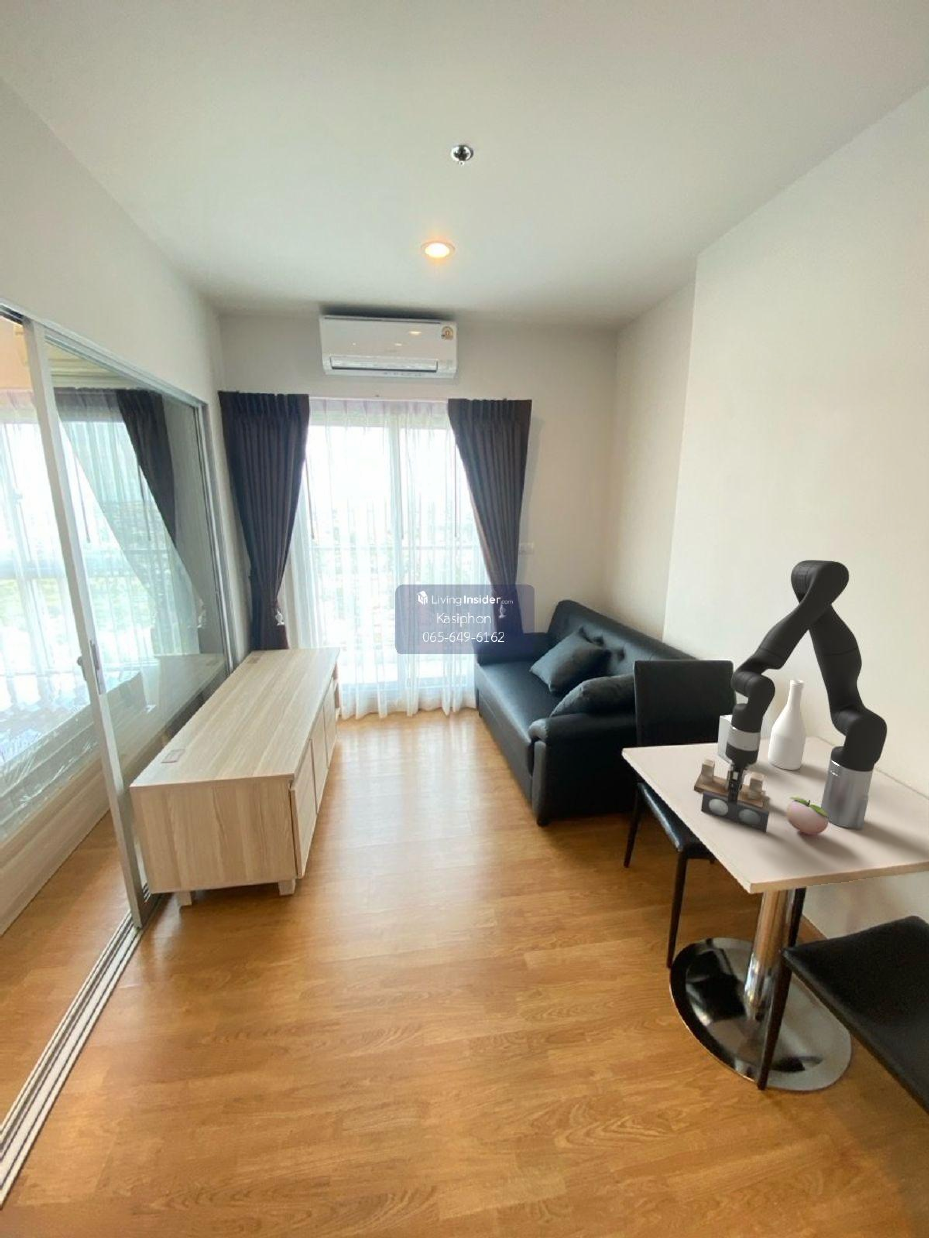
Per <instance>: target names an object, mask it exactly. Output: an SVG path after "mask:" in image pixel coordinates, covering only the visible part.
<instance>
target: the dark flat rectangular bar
mask: <svg viewBox="0 0 929 1238" xmlns="http://www.w3.org/2000/svg"><path fill="white" fill-rule="evenodd" d="M727 800H728V798H726V797H723V796H720V795H717V794H713V793H710V792H707V791H704V792H703V793H702V801H701V807H700V811H701V812H703V813H706V814H709V815H712V816H715V817H718V818H721V819H723V820H727V821H729V822H733V823H735V824H738V825H741V826H743V827H746V828H750V829H753V830H755V831H758V832H762V833H764V834H767V830H768V829H767V828H768V823H769V816H770V811H769V810H768V809H767V810H766V809H763V808H762V809H760V808H757V807H754V806H751V805H748V804H745V803H742V802H738V801H737V804H736V805H734V804H731V803H729V802H728V801H727Z"/></svg>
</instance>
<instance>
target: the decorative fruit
mask: <svg viewBox="0 0 929 1238" xmlns="http://www.w3.org/2000/svg"><path fill="white" fill-rule="evenodd" d="M789 799H791V800H792V801H790V802H789V804H787V807H786V811H785V813H786V814H785V815H786V817H787V820H788V823H789V824H790V825H791V826H792V827H793V828H794V829H795V830H797V831H800V832H801V833H803V834H806V835H810V836H811V835H812V836H813V835H815V836H816V835H819V834H821V833H822V832H824V831H825V830H826V829H827V827H828V826H829V821H828V819H829V818H828V816H827V814H826V813H825V811H824V810H823V809H822V808H821V806H819V805H817V804H815V803H814V804H813V803H811V800H810V799H808V801H807V800H805V798H801V797H799V796H794V797H793V796H791V797H789Z"/></svg>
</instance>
